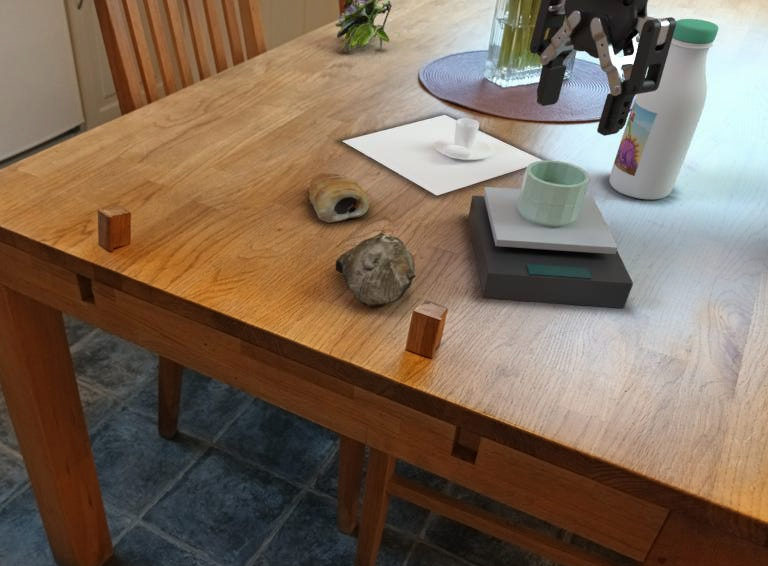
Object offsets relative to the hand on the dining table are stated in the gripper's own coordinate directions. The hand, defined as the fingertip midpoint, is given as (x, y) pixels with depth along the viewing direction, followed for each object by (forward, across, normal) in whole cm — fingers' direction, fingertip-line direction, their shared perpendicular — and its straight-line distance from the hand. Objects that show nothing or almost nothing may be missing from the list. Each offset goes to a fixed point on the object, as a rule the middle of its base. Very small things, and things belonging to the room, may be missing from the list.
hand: (575, 117), depth 70 cm
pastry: (+15, +19, +16) cm, 29 cm away
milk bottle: (+16, +8, -23) cm, 29 cm away
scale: (+15, -1, +1) cm, 15 cm away
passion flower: (+15, +75, -20) cm, 79 cm away
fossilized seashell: (+15, +1, +20) cm, 26 cm away
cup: (+11, 0, 0) cm, 11 cm away
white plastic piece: (+15, +28, -6) cm, 32 cm away
